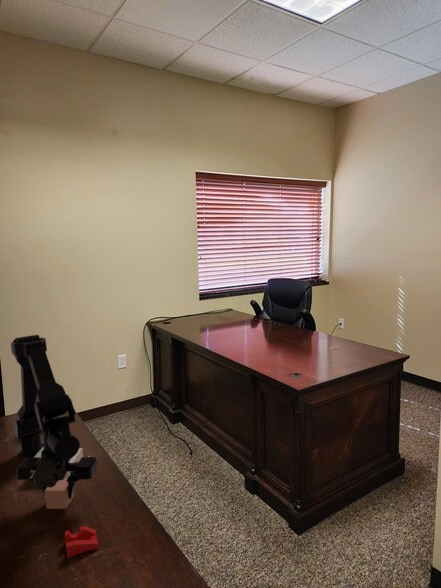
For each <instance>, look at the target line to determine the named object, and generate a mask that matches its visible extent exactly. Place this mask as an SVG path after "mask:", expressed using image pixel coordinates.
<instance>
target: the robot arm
mask: <svg viewBox="0 0 441 588" xmlns="http://www.w3.org/2000/svg"><path fill="white" fill-rule="evenodd" d="M10 349H11V350H10V351H11V354H12V356H13V357H14V358H15V360H16V362H17V363H18V365H19V366H20V380H21V402H22V405H21V406H20V408H19V410H18V411H17V412H16V420H15V421H14V426H13V429H14V430H13V431H14V436H15V437H16V439H17V440H20V444H21V450H20V451H19V452H18V453H17V457H26V458H25V459H24V460H23V461H22V462H21V464H20V465H19V466H18V467H17V468H16V471H15V476H16V477H15V478H16V480H17V481H19V480H20V481H23V480H24V481H25V480H26V481H27V480H29V482H31V483H34V485H35V486H36V488H37V489H38V488H41V489H42V492H43V493H44V494H45V490H46V488H47V487H54V486H55V485H56V483H57V482H58V481H59V480H63V479H64V477H65V475H66V472H67V471H69V472H70V476H69V477H68V479H67V480H66V481H67V482H68V496H69V499H71V498H72V495H73V492H74V493H75V488H76V486H77V483H78V482H79V481H80V480H90V479H92V477H93V475H94V474H95V472H96V470H97V468H98V467H99V464H98V461H99V460H98V459H97V458H96V457H95V456H91V457H90V456H83V457H82V458H81V459H80V461H76V462H74V463H70V462H69V460H70V459H71V458H72V457H74V456H75V455H76V454H77V452H78V450H79V448H81V447H80V445H81V444H80V443H81V442H80V440H79V438H78V437H77V436H76V435H75V434H74V432H73V431H72V430H71V429H70V424H72V423H75V422H76V418H75V416H76V410H75V408H74V405H73V401H72V398H71V397H70V395H69V394H67V392H66V390H65V388H64V386H63V385H61V384H59V383H58V382H57V381H56V379H55V376H54V373H53V370H52V367H51V364H50V361H49V358H48V355H47V353H46V352H47V351H48V348H47V338H45V337H40V336H39V334H33V335H27V336H21V337H15V338H14V339H13V341H12V342H11V343H10ZM67 414H68V415H67ZM64 415H65V416H64ZM42 447H44V449H43V450H42V452H41V458H40V457H35V456H36V454H37V453H38V452H39V451H40V450H41V449H42ZM30 477H31V479H30ZM72 499H73V498H72Z"/></svg>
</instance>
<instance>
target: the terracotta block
mask: <svg viewBox="0 0 441 588" xmlns="http://www.w3.org/2000/svg"><path fill="white" fill-rule="evenodd" d="M67 479H68V478H64V479H63V480H59V481H58V482H57V483H56V485H55V486H54V487H47V488H46V490H45V493H44V495H45V496H44V497H45V507H46V510H51V509H52V510H57V509H59V510H62V509H63V510H64V509H65V510H66V509H67V508H68V506H69V505H70V503H71V501H72V499H74V496H75V494H74V493H75V491H74V492H73V495H72V498H71V499H69V496H68V482H67V481H66V480H67Z"/></svg>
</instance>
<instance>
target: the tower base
mask: <svg viewBox="0 0 441 588" xmlns="http://www.w3.org/2000/svg"><path fill="white" fill-rule="evenodd" d="M43 449H44V447H42V449H41V450H40V451H39V452H38V453H37V454H36V456H34V457H40V458H41V452H42V450H43ZM83 451H84V450H83V447H79V450H78V452H77V454H76V455H75V456H74V457H72V458H71V459H70V460H69V462H70V463H74V462H76V461H80V459H81V458H82V457H84V453H83ZM69 476H70V472H69V471H67V472H66V475H65V477H64V478H68V477H69ZM30 479H31V477H30V478H29V480H30Z"/></svg>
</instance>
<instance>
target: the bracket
mask: <svg viewBox="0 0 441 588" xmlns="http://www.w3.org/2000/svg"><path fill="white" fill-rule="evenodd" d="M64 534H65V536H64V537H65V549H66V558H67V559H70V558H72V557H73V558H74V556H77V555H79V554H82V553H85V552H88V551H93V550H97V549H99V541H98V537H97V531H96V529H95V528H91V527H89V526H87V525H82V526H80V527H79V530H78V532H76V533H72V532H70V530H66V531H64Z"/></svg>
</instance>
